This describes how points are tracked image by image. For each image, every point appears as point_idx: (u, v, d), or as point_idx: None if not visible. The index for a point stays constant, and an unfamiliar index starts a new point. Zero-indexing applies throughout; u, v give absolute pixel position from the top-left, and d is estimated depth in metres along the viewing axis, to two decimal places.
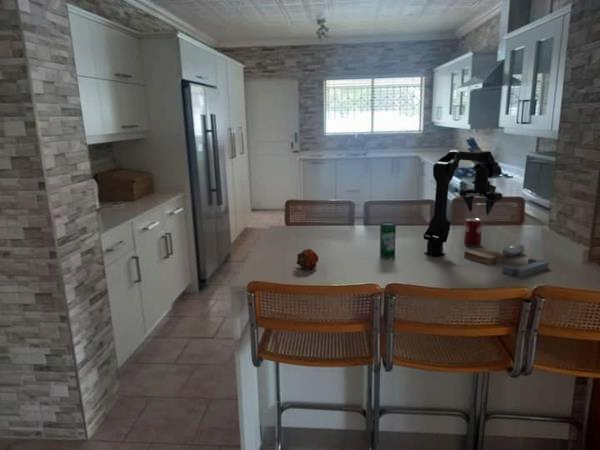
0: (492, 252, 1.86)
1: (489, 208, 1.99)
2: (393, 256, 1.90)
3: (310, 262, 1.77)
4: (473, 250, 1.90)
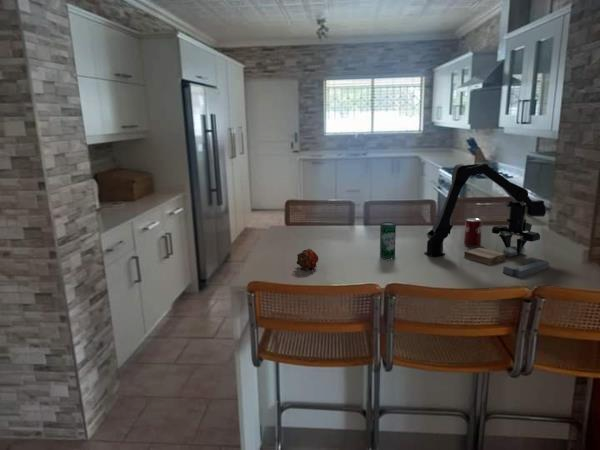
0: (492, 252, 1.86)
1: (520, 247, 1.86)
2: (393, 256, 1.90)
3: (310, 262, 1.77)
4: (473, 250, 1.90)
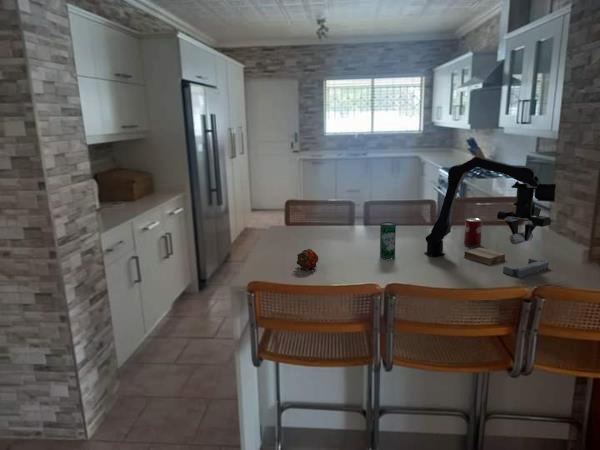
0: (492, 252, 1.86)
1: (528, 234, 1.69)
2: (393, 256, 1.90)
3: (310, 262, 1.77)
4: (473, 250, 1.90)
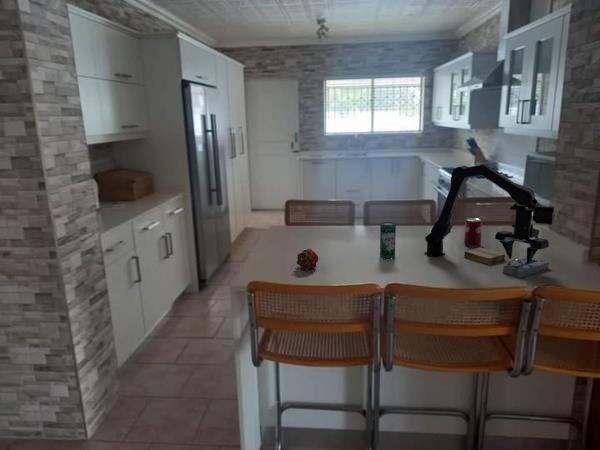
0: (492, 252, 1.86)
1: (530, 256, 1.68)
2: (393, 256, 1.90)
3: (310, 262, 1.77)
4: (473, 250, 1.90)
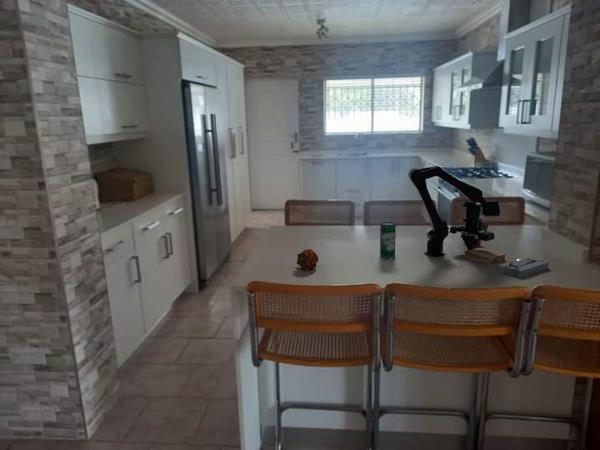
0: (492, 252, 1.86)
1: (471, 246, 1.90)
2: (393, 256, 1.90)
3: (310, 262, 1.77)
4: (473, 250, 1.90)
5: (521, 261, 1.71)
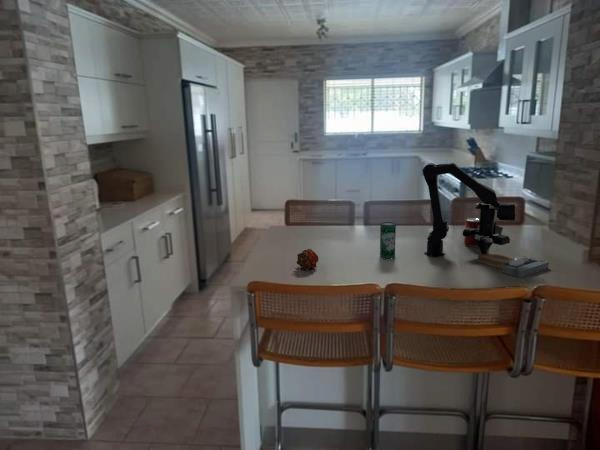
0: (506, 256, 1.80)
1: (485, 249, 1.84)
2: (393, 256, 1.90)
3: (310, 262, 1.77)
4: (487, 254, 1.84)
5: (515, 259, 1.73)
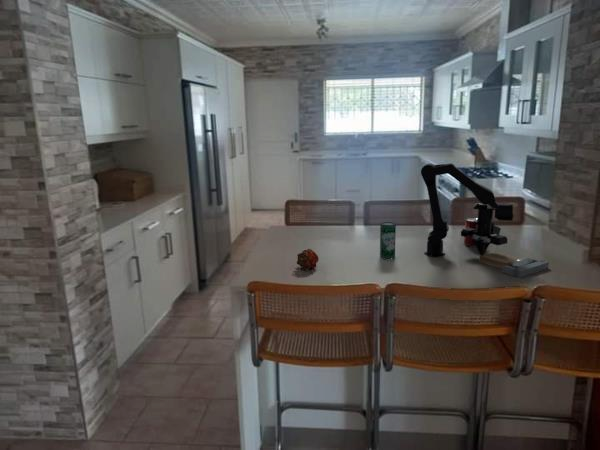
0: (508, 257, 1.80)
1: (483, 250, 1.85)
2: (393, 256, 1.90)
3: (310, 262, 1.77)
4: (488, 254, 1.83)
5: (522, 262, 1.71)
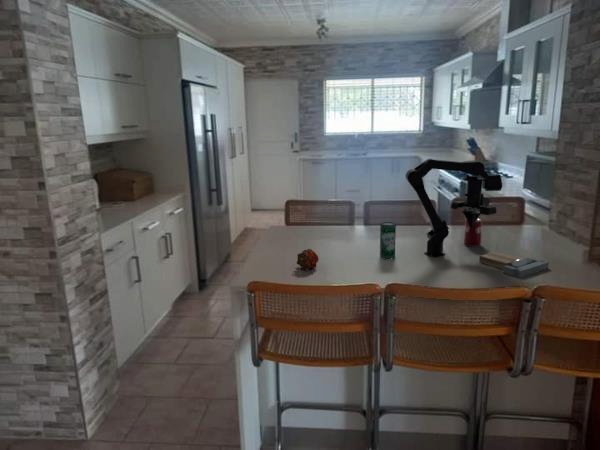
0: (508, 257, 1.80)
1: (473, 221, 1.88)
2: (393, 256, 1.90)
3: (310, 262, 1.77)
4: (488, 254, 1.83)
5: (521, 261, 1.71)
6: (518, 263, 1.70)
